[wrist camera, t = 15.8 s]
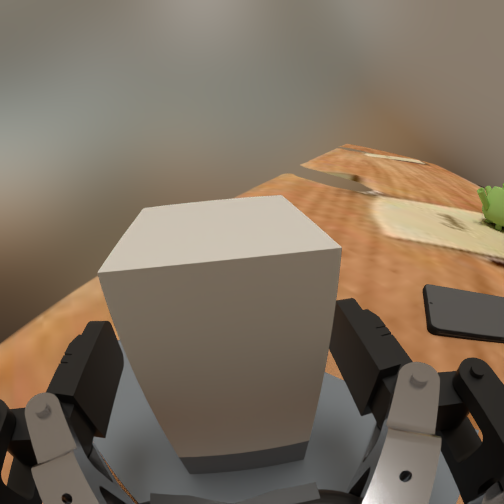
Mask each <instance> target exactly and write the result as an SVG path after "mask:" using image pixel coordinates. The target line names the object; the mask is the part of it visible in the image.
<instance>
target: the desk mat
mask: <svg viewBox="0 0 504 504" xmlns="http://www.w3.org/2000/svg"><path fill="white" fill-rule="evenodd" d="M118 343H119V345H120V348H121V350H122V353H123V357H124V368H123V371H122V375H121V378H120V382H119V386H118V389H117V393H116V397H115V400H114V404H113V408H112V412H111V416H110V421H109V425H108V429H107V434H106V438H100V437H94V438H93V442H94V444H95V445H96V447H97V448H98V450H99V452H100V453H101V455H102V456H103V458H104V459H105V460H106V462H107V463H108V465H109V466H110V468H111V469H112V470H113V472H114V473H115V474H116V476H117V477H118V478H119V480H120V481H121V482H122V484H123V485H124V486H125V488H126V489H127V490H128V491H129V492H130V494H131V495H132V496H133V497H134V499H135V500H136V501H137V502H138V503H143V502H147V501H150V493H156V494H169V495H190V496H195V497H199V498H204V499H209V500H214V501H220V502H226V503H236V502H240V501H243V500H247V499H250V498H253V497H256V496H259V495H262V494H265V493H267V492H270V491H273V490H276V489H283V488H288V487H294V486H299V485H304V484H309V483H313V482H316V485H317V488H318V489H327V490H336V491H342V492H345V493H346V491H347V489H348V487H349V484H350V482H351V481H352V479H353V477H354V475H355V473H356V471H357V469H358V467H359V465H360V463H361V460H362V458H363V455H364V452H365V450H366V447H367V444H368V442H369V439H370V436H371V433H372V430H373V427H374V424H375V422H376V420H375V418H374V416H373V414H372V413H371V414H367V415H364V416H361V415H360V413H359V411H358V408H357V406H356V404H355V402H354V400H353V398H352V396H351V393H350V391H349V389H348V387H347V385H346V383H345V381H344V380H341V379H339V378H337V377H335V376H332V375H330V374H328V373H326V372H324V377H323V382H322V387H321V392H320V397H319V401H318V406H317V410H316V414H315V419H314V423H313V427H312V431H311V435H310V439H309V443H308V446H307V450H306V454H305V457H304V459H303V460H299V461H294V462H290V463H285V464H280V465H274V466H269V467H263V468H256V469H249V470H241V471H232V472H222V473H208V474H189V472H188V471H187V469H186V468H185V466H184V465H183V463H182V461H181V460H180V458H179V457H178V455H177V454H176V452H175V450H174V449H173V447H172V445H171V444H170V442H169V440H168V439H167V437H166V435H165V433H164V432H163V430H162V428H161V426H160V424H159V423H158V421H157V419H156V417H155V415H154V413H153V411H152V409H151V407H150V406H149V404H148V402H147V400H146V398H145V396H144V394H143V391H142V389H141V387H140V385H139V383H138V381H137V379H136V377H135V374H134V372H133V370H132V368H131V365H130V363H129V361H128V358H127V356H126V353H125V351H124V349H123V346H122V344H121V341H120V340H118ZM475 431H476V432H477V434H478V432H479V430H476V429H475ZM459 494H460V492H459V490H458V487H457V485H456V483H455V481H454V478H453V476H452V474H451V472H450V469H449V467H448V465H447V463H446V461H445V459H444V456H443V454H442V452H441V450H440V455H439V461H438V466H437V471H436V476H435V480H434V484H433V488H432V492H431V496H430V500H429V503H428V504H456V502H457V500H458V497H459Z"/></svg>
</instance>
